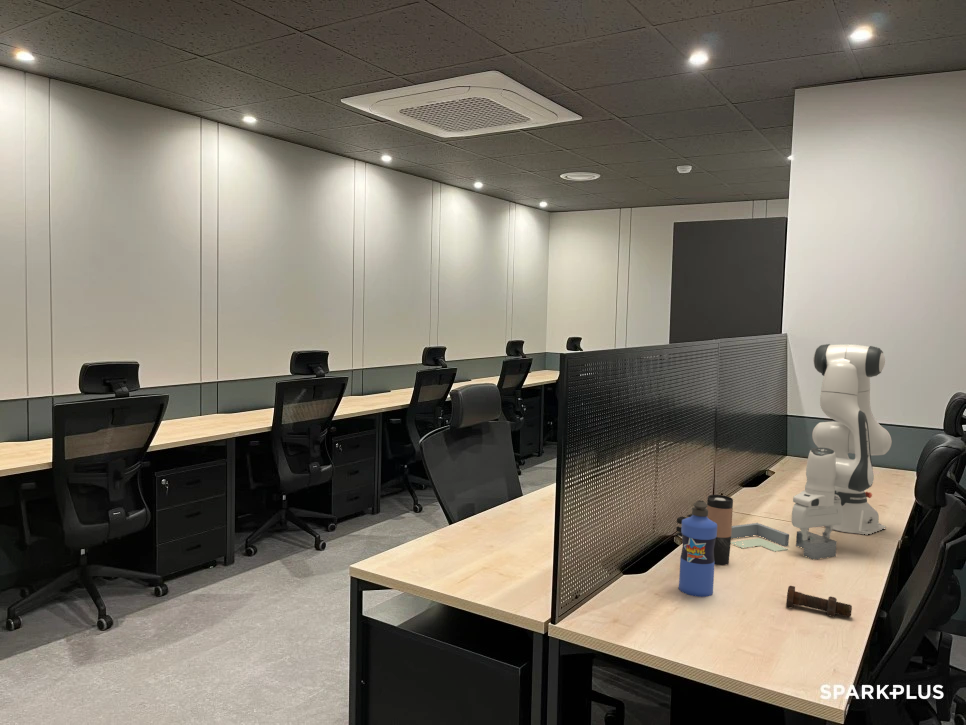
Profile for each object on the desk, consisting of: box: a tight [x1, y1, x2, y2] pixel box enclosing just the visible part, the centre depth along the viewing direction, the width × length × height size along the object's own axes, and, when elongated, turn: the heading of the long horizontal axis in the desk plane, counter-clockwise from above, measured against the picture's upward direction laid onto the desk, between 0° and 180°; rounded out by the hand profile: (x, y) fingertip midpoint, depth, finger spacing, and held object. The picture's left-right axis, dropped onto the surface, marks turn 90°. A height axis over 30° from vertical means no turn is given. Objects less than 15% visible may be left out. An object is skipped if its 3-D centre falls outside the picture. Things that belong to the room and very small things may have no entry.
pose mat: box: [731, 537, 789, 553], centre depth 230 cm, size 14×12×1 cm
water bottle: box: [678, 500, 717, 598], centre depth 189 cm, size 9×9×25 cm
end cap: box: [675, 513, 693, 538], centre depth 240 cm, size 10×7×7 cm
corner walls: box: [731, 522, 790, 547], centre depth 234 cm, size 18×14×4 cm
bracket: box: [795, 530, 838, 560], centre depth 226 cm, size 10×12×5 cm
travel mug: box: [706, 494, 734, 566], centre depth 214 cm, size 8×8×20 cm
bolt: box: [785, 585, 853, 618], centre depth 179 cm, size 6×5×15 cm
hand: (816, 539), depth 226 cm, fingers open, 8 cm apart
